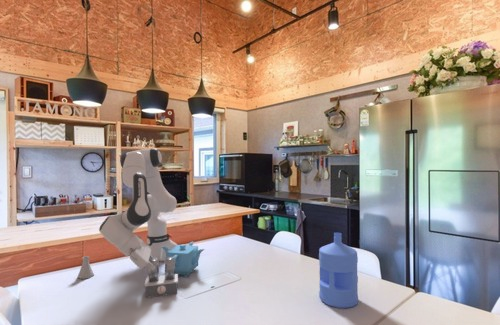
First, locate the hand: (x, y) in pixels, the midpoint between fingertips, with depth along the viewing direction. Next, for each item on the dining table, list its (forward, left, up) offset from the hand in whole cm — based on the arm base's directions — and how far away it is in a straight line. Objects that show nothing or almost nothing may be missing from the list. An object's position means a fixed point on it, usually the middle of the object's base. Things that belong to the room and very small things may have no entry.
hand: (155, 265), depth 128 cm
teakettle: (-22, -12, -12) cm, 28 cm away
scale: (-2, +1, -12) cm, 12 cm away
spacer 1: (+1, 0, -6) cm, 6 cm away
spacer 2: (-5, +3, -6) cm, 9 cm away
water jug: (-49, +63, -12) cm, 81 cm away
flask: (+16, -44, -12) cm, 48 cm away
